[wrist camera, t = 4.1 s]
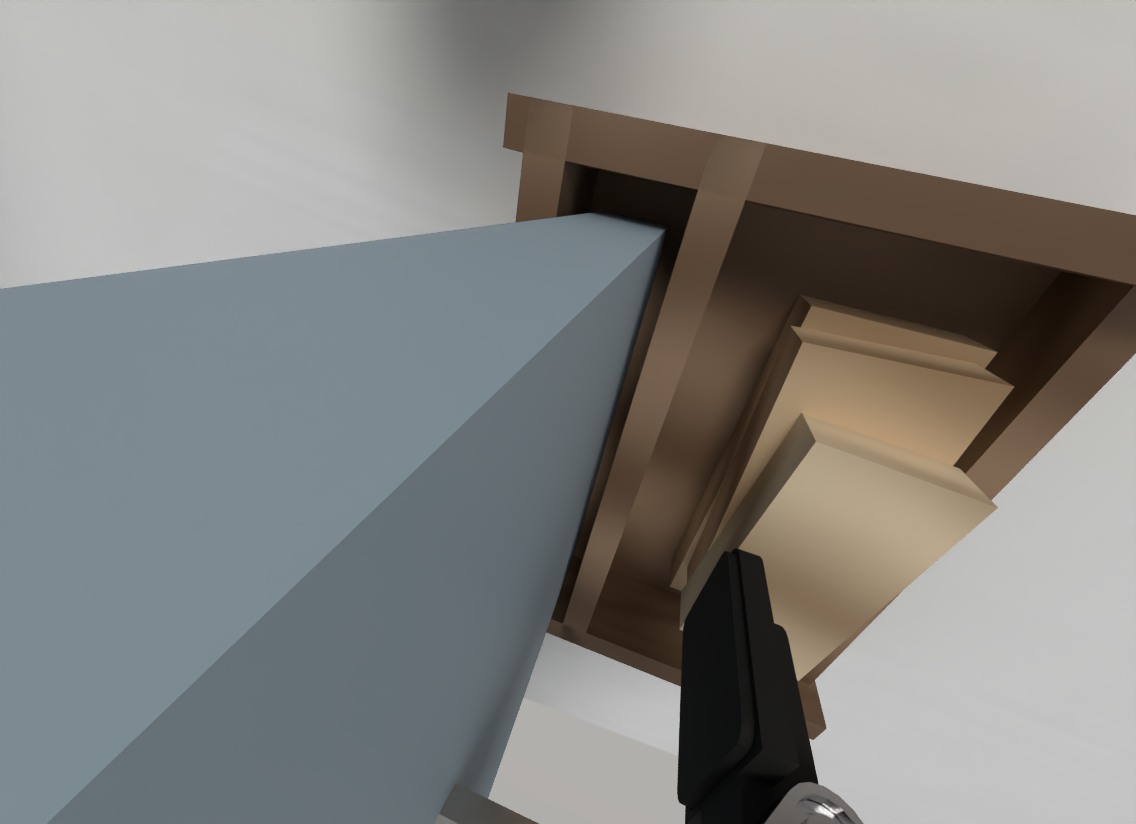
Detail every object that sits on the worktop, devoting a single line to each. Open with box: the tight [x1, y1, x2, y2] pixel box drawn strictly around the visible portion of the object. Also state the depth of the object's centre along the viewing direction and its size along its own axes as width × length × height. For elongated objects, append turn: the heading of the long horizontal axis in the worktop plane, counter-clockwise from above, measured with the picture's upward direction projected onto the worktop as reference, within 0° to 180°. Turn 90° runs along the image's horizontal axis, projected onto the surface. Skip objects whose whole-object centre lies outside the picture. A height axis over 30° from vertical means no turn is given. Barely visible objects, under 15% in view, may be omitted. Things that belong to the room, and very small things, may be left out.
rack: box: [503, 93, 1136, 740], centre depth 14 cm, size 18×15×4 cm
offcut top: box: [679, 412, 998, 681], centre depth 12 cm, size 8×4×2 cm, turn 165°
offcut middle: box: [687, 326, 1014, 582], centre depth 13 cm, size 10×4×2 cm, turn 172°
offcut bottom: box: [670, 294, 998, 591], centre depth 14 cm, size 12×4×2 cm, turn 169°
